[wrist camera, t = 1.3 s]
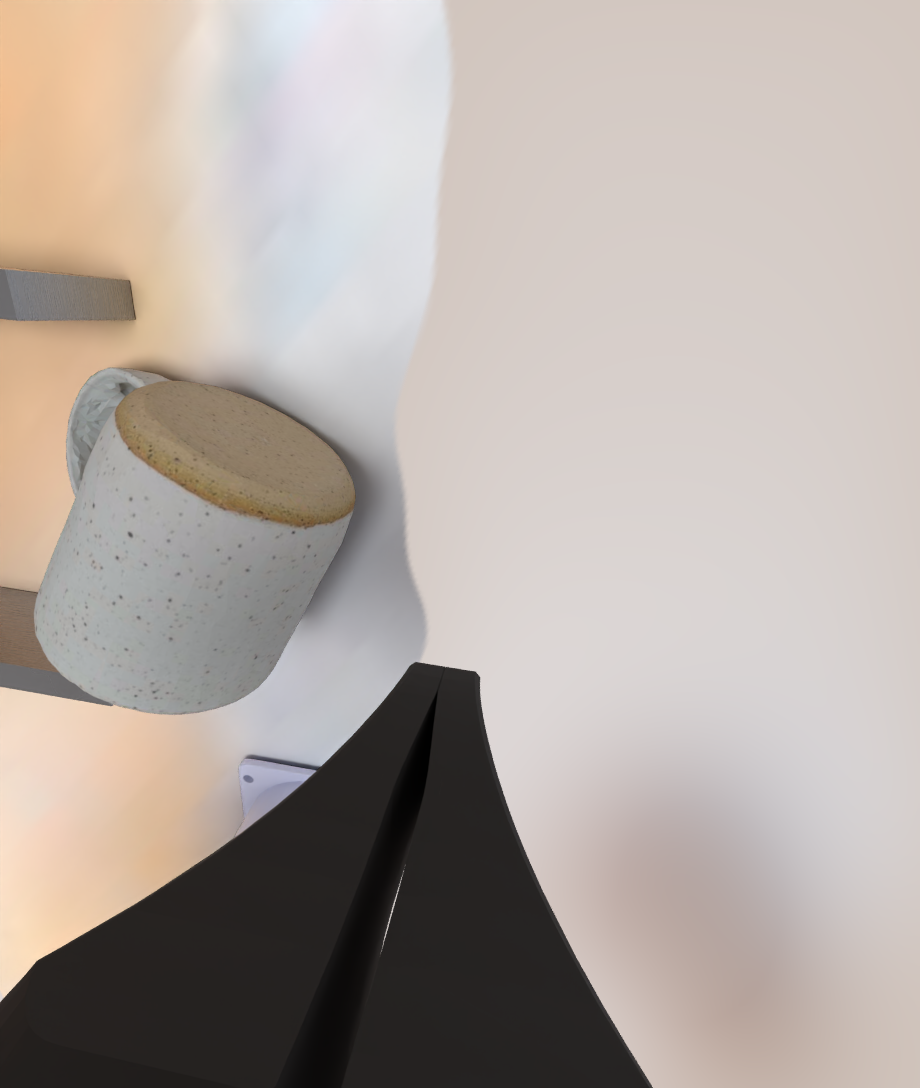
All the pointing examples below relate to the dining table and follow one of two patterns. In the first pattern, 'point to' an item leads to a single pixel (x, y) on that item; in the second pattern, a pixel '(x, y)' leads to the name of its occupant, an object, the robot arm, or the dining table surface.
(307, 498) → the ceramic mug
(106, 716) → the dining table surface
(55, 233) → the dining table surface
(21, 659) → the grey u-shaped piece
